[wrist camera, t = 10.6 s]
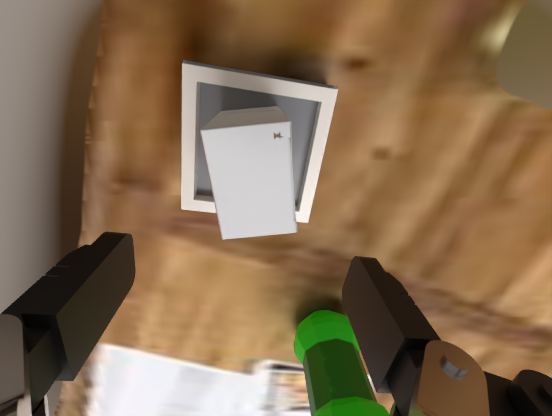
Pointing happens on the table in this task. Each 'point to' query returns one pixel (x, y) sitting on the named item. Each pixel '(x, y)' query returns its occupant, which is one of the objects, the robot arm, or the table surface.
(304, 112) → the grey square tray
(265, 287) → the table surface
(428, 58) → the table surface
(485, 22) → the table surface
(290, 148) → the small box
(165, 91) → the table surface
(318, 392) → the plastic bottle
